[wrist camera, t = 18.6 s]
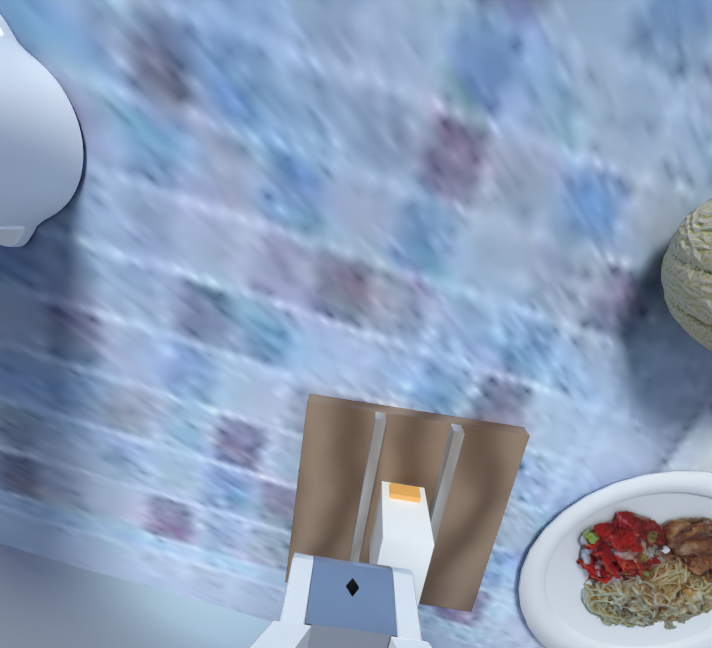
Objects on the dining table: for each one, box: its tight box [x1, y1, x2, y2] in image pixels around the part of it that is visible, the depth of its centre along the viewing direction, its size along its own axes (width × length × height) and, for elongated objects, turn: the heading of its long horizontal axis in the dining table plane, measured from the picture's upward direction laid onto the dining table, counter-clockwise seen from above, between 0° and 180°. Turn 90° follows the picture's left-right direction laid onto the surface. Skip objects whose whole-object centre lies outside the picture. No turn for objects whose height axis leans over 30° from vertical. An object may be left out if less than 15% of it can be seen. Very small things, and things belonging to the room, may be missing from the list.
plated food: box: [518, 470, 712, 648], centre depth 42 cm, size 30×30×3 cm
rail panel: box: [286, 394, 529, 612], centre depth 40 cm, size 22×24×3 cm
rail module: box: [369, 481, 434, 608], centre depth 37 cm, size 4×9×7 cm, turn 172°
